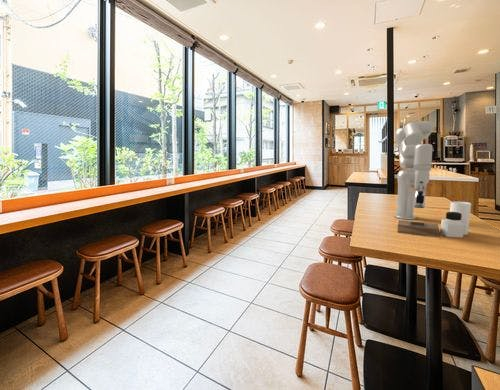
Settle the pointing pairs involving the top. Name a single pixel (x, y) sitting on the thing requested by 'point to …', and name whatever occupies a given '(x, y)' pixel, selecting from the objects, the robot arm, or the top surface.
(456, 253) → the top surface
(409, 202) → the robot arm
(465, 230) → the cup
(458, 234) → the medicine bottle
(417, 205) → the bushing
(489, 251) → the top surface
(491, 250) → the top surface
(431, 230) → the block
